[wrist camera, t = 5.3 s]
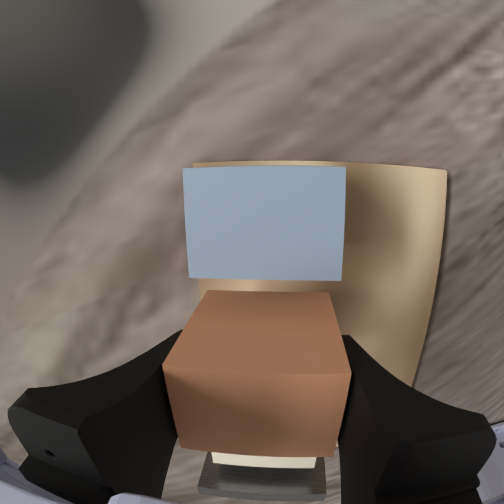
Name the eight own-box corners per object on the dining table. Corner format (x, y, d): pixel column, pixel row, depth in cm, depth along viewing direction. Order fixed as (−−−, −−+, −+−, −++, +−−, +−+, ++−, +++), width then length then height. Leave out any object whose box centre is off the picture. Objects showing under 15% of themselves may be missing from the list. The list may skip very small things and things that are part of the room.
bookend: (321, 422, 17) (326, 493, 12) (317, 444, 18) (320, 512, 13) (217, 418, 18) (197, 486, 13) (220, 440, 18) (203, 505, 13)
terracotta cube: (328, 292, 13) (351, 373, 8) (321, 364, 14) (333, 456, 8) (207, 289, 13) (162, 364, 8) (213, 360, 14) (180, 447, 9)
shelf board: (441, 169, 13) (447, 170, 13) (389, 435, 18) (391, 441, 17) (196, 163, 15) (192, 163, 14) (218, 436, 19) (216, 442, 19)
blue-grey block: (327, 166, 13) (345, 167, 9) (325, 245, 14) (341, 280, 10) (214, 166, 14) (183, 168, 10) (217, 244, 15) (189, 277, 11)
